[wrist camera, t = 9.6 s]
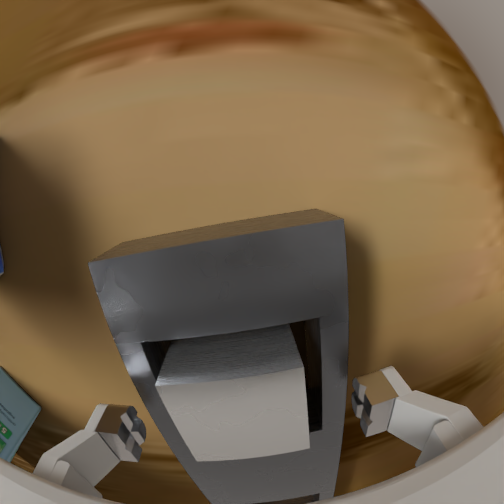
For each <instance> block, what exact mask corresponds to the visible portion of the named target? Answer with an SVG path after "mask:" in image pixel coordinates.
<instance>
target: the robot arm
mask: <svg viewBox="0 0 504 504" xmlns="http://www.w3.org/2000/svg"><path fill="white" fill-rule="evenodd" d="M352 386H353V388H354V390H355V391H354V392H353V393H352V407H353V410H354V413H355V415H356V417H358V418H360V419H361V421H360V426H361V428H362V430H363V432H364V434H365V436H366V437H368V436H371V435H374V434H377V433H380V432H383V431H386V430H387V431H388V432H389V433H391V434H393V435H395V436H396V437H398V438H400V439H401V440H403V441H405V442H407V443H408V444H410V445H412V446H414V447H416V448H417V449H419V450H421V451H422V452H421V454H420V456H419V458H418V460H417V462H416V464H415V466H416V467H415V468H413V469H411V470H409V471H407V472H404V473H402V474H400V475H398V476H395V477H393V478H390V479H388V480H385V481H383V482H380V483H377V484H375V485H372V486H369V487H366V488H363V489H360V490H357V491H354V492H351V493H347V494H344V495H340V496H336V497H333V498H329V499H325V500H320V501H316V502H311V503H306V504H504V412H503V413H502V414H501V415H499V416H498V417H497V418H495V419H494V420H493V421H491V422H490V423H489V424H487V425H486V426H485V427H483V426H482V424H481V423H480V422H479V421H478V420H477V418H476V417H475V416H474V415H473V414H472V413H471V411H470V410H469V409H468V408H467V407H466V406H463V405H459V404H456V403H453V402H450V401H447V400H444V399H441V398H438V397H435V396H432V395H429V394H426V393H423V392H420V391H417V390H415V391H412V390H411V389H410V387H409V386H408V385H407V384H406V382H405V381H404V380H403V378H402V377H401V376H400V375H399V373H398V372H397V371H396V369H395V368H394V367H393V366H389V367H386V368H383V369H380V370H377V371H374V372H371V373H368V374H365V375H362V376H359V377H355V378H354V379H353V385H352ZM136 415H137V411H136V410H135V408H134V407H133V406H126V405H113V404H101V403H100V404H98V405H97V406H96V408H95V410H94V412H93V414H92V415H91V417H90V419H89V421H88V423H87V425H86V427H85V429H84V430H80V431H78V432H77V433H75V434H73V435H72V436H70V437H69V438H67V439H66V440H64V441H63V442H61V443H59V444H58V445H56V446H55V447H53V448H51V449H50V450H48V451H46V452H45V453H43V455H42V457H41V458H40V460H39V462H38V464H37V466H36V468H35V470H34V472H33V473H30V472H28V471H25V470H23V469H21V468H19V467H17V466H15V465H13V464H12V463H10V462H8V461H6V460H4V459H2V458H1V457H0V504H124V503H120V502H115V501H111V500H107V499H103V498H102V497H103V496H102V494H101V493H100V492H99V491H98V490H96V489H95V488H94V486H95V485H96V484H97V483H98V482H99V481H100V480H102V479H103V478H104V477H105V476H106V475H107V474H108V473H109V472H110V471H111V470H112V469H113V468H114V467H115V466H116V465H117V464H118V463H119V462H120V460H122V461H132V462H139V459H140V455H141V452H142V448H141V447H140V445H141V444H142V443H143V442H144V441H145V438H146V428H145V425H144V423H143V421H142V420H141V419H140V418H138V417H137V416H136Z"/></svg>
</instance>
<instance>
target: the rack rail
mask: <svg viewBox="0 0 504 504" xmlns="http://www.w3.org/2000/svg"><path fill="white" fill-rule="evenodd" d="M88 265H89V269H90V272H91V276H92V279H93V282H94V286H95V289H96V292H97V295H98V298H99V301H100V304H101V307H102V310H103V312H104V315H105V318H106V321H107V323H108V326H109V328H110V331H111V334H112V336H113V339H114V341H115V343H116V346H117V348H118V350H119V353H120V355H121V357H122V360H123V362H124V364H125V366H126V368H127V371H128V373H129V375H130V377H131V379H132V381H133V383H134V385H135V387H136V389H137V391H138V393H139V395H140V397H141V399H142V401H143V402H144V404H145V406H146V408H147V410H148V412H149V413H150V415H151V417H152V419H153V420H154V422H155V424H156V426H157V427H158V429H159V431H160V432H161V434H162V436H163V437H164V439H165V440H166V442H167V444H168V445H169V447H170V448H171V450H172V451H173V453H174V454H175V456H176V457H177V459H178V460H179V462H180V463H181V464H182V466H183V467H184V469H185V470H186V472H187V473H188V474H189V476H190V477H191V478H192V480H193V481H194V482H195V484H196V485H197V486H198V488H199V489H200V490H201V491H202V493H203V494H204V495H205V496H206V498H207V499H208V500H209V501H210V502H211V504H306V503H311V502H316V501H320V500H325V499H329V498H333V496H334V490H335V485H336V479H337V473H338V467H339V460H340V453H341V445H342V437H343V427H344V417H345V405H346V392H347V374H348V340H349V310H348V276H347V257H346V242H345V230H344V219H342V218H340V217H337V216H335V215H332V214H329V213H326V212H324V211H321V210H318V209H311V210H304V211H297V212H291V213H284V214H278V215H271V216H265V217H259V218H252V219H246V220H240V221H234V222H228V223H223V224H217V225H211V226H206V227H200V228H194V229H189V230H184V231H178V232H173V233H168V234H163V235H157V236H152V237H147V238H142V239H137V240H132V241H127V242H123V243H121V244H119V245H117V246H115V247H114V248H112V249H110V250H108V251H107V252H105V253H103V254H102V255H100V256H98V257H97V258H95V259H93V260H92V261H90V262H88ZM303 320H304V328H305V340H306V353H307V367H308V382H309V389H306V398H307V411H308V426H309V442H310V448H309V449H304V450H299V451H294V452H289V453H283V454H277V455H271V456H264V457H256V458H247V459H237V460H223V461H196V459H195V458H194V456H193V455H192V453H191V451H190V450H189V448H188V446H187V445H186V443H185V441H184V440H183V438H182V436H181V435H180V433H179V431H178V429H177V427H176V426H175V424H174V422H173V420H172V418H171V417H170V415H169V413H168V411H167V409H166V407H165V405H164V403H163V401H162V399H161V397H160V395H159V393H158V391H157V389H156V387H155V384H156V381H157V378H158V376H159V373H160V370H161V368H162V365H163V362H164V359H165V357H166V354H167V352H168V349H169V346H170V344H171V341H172V340H175V339H184V338H193V337H202V336H210V335H218V334H225V333H232V332H239V331H246V330H252V329H258V328H264V327H270V326H276V325H282V324H287V323H292V322H298V321H303Z"/></svg>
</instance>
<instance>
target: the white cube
mask: <svg viewBox="0 0 504 504" xmlns="http://www.w3.org/2000/svg"><path fill="white" fill-rule="evenodd" d="M155 387H156V389H157V391H158V393H159V395H160V397H161V399H162V401H163V403H164V405H165V407H166V409H167V411H168V413H169V415H170V417H171V418H172V420H173V422H174V424H175V426H176V427H177V429H178V431H179V433H180V435H181V436H182V438H183V440H184V441H185V443H186V445H187V446H188V448H189V450H190V451H191V453H192V455H193V456H194V458H195V459H196V461H223V460H237V459H247V458H256V457H264V456H271V455H277V454H283V453H289V452H294V451H299V450H304V449H309V448H310V442H309V426H308V411H307V398H306V386H305V374H304V366H303V363H302V360H301V357H300V354H299V351H298V349H297V346H296V343H295V340H294V337H293V334H292V331H291V328H290V325H289V323H287V324H282V325H276V326H270V327H264V328H258V329H252V330H246V331H239V332H232V333H225V334H218V335H210V336H202V337H193V338H184V339H175V340H172V341H171V344H170V346H169V349H168V352H167V354H166V357H165V359H164V362H163V365H162V368H161V370H160V373H159V376H158V378H157V381H156V384H155Z"/></svg>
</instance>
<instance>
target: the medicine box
mask: <svg viewBox="0 0 504 504" xmlns="http://www.w3.org/2000/svg"><path fill="white" fill-rule="evenodd" d="M3 273H4V262H3V256H2V250H1V245H0V275H2V274H3Z"/></svg>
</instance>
